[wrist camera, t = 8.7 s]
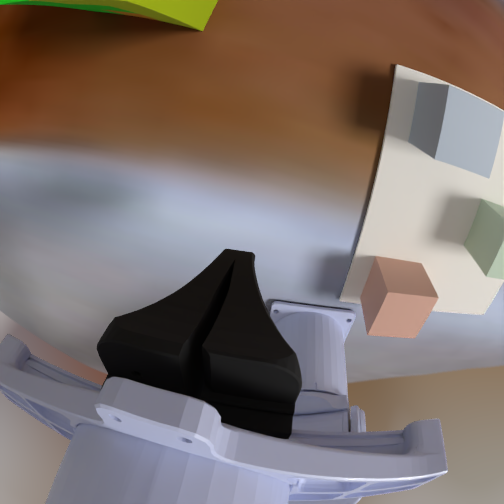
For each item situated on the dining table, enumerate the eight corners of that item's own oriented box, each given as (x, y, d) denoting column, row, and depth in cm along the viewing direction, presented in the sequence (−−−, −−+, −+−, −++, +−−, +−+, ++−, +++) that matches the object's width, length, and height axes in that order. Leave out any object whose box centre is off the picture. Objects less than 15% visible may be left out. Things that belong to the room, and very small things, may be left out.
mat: (482, 313, 24) (483, 314, 24) (339, 299, 26) (339, 301, 25) (553, 143, 13) (555, 144, 13) (395, 64, 14) (396, 64, 14)
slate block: (457, 157, 17) (489, 178, 13) (407, 141, 17) (434, 159, 13) (469, 102, 14) (504, 112, 10) (418, 82, 14) (449, 84, 11)
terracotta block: (403, 302, 24) (414, 338, 21) (359, 297, 25) (367, 335, 21) (421, 263, 22) (438, 297, 18) (375, 255, 22) (388, 292, 19)
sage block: (495, 252, 20) (517, 282, 16) (463, 245, 20) (486, 276, 17) (513, 210, 17) (540, 236, 14) (481, 198, 18) (510, 225, 14)
